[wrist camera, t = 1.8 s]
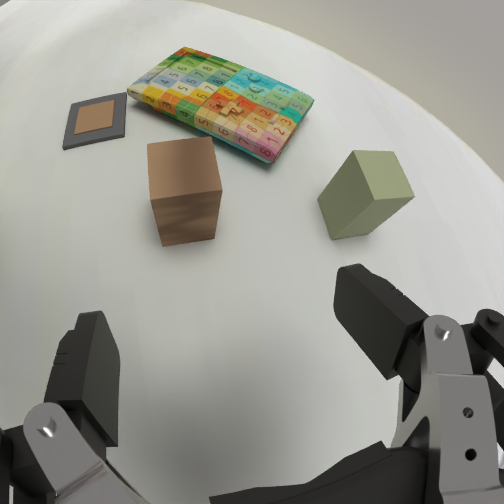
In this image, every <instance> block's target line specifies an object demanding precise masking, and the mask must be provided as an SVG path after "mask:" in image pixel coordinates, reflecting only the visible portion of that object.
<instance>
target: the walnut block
mask: <svg viewBox="0 0 504 504" xmlns="http://www.w3.org/2000/svg"><path fill="white" fill-rule="evenodd" d="M147 154H148V174H149V189H150V201H151V205H152V208H153V212H154V216H155V220H156V224H157V227H158V231H159V235H160V238H161V242H162V245H163V247H164V246H170V245H177V244H183V243H190V242H196V241H203V240H209V239H214V238H215V231H216V225H217V219H218V213H219V207H220V201H221V195H222V185H221V180H220V176H219V171H218V166H217V161H216V156H215V151H214V147H213V142H212V137H211V136H209V137H199V138H190V139H181V140H173V141H165V142H158V143H151V144H147Z"/></svg>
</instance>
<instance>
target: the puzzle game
mask: <svg viewBox="0 0 504 504" xmlns="http://www.w3.org/2000/svg"><path fill="white" fill-rule="evenodd" d="M127 93H128V95H129V96H130V97H132V98H134V99H137V100H139V101H142V102H145V103H147V104H150V105H151V106H152V108H153V109H154V110H156V111H158V112H161V113H163V114H165V115H168V116H170V117H172V118H174V119H177V120H179V121H181V122H183V123H186V124H188V125H190V126H192V127H194V128H197V129H199V130H201V131H203V132H205V133H207V134H209V135H211V136H214V137H216V138H218V139H220V140H222V141H224V142H226V143H228V144H230V145H232V146H234V147H236V148H238V149H240V150H242V151H244V152H246V153H248V154H250V155H252V156H254V157H255V158H257V159H259V160H261V161H263V162H265V163H274V162H275V160H276V159H277V157H278V156H279V154H280V153H281V151H282V150H283V148H284V147H285V145H286V144H287V142H288V141H289V139H290V138H291V136H292V135H293V133H294V132H295V130H296V129H297V127H298V126H299V124H300V123H301V121H302V120H303V118H304V117H305V115H306V114H307V112H308V111H309V110H310V108H311V107H312V104H313V102H314V99H313V98H311V97H310V96H309V95H307V94H305V93H303V92H301V91H299V90H297V89H295V88H292V87H290V86H288V85H286V84H284V83H282V82H279V81H277V80H275V79H273V78H270V77H268V76H266V75H263V74H261V73H258V72H256V71H254V70H251V69H248V68H246V67H243V66H241V65H238V64H235V63H233V62H230V61H227V60H224V59H222V58H219V57H216V56H213V55H210V54H207V53H204V52H201V51H197V50H194V49H191V48H187V47H183V48H182V49H180V50H179V51H177V52H176V53H174V54H173V55H171V56H170V57H168V58H167V59H165V60H164V61H162V62H161V63H160V64H158V65H157V66H155V67H154V68H153V69H151V70H150V71H149V72H147V73H146V74H145V75H143V76H142V77H141V78H140V79H138V80H137V81H136V82H134V83H133V84H132V85H131V86H129V87H128V88H127Z"/></svg>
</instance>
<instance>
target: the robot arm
mask: <svg viewBox="0 0 504 504" xmlns="http://www.w3.org/2000/svg"><path fill="white" fill-rule="evenodd" d="M333 306H334V312H335V315H336V318H337V319H338V321H339V322H340V323H341V324H342V326H343V327H344V328H345V329H346V331H347V332H348V333H349V334H350V335H351V337H352V338H353V339H354V340H355V342H356V343H357V344H358V345H359V346H360V348H361V349H362V350H363V351H364V353H365V354H366V355H367V356H368V358H369V359H370V360H371V361H372V363H373V364H374V365H375V366H376V368H377V369H378V370H379V371H380V373H381V374H382V375H383V376H384V378H385V379H386V380H389V379H391V378H393V377H395V376H397V375H400V377H401V378H402V379H401V381H400V384H399V401H398V416H397V427H396V432H395V435H394V438H393V440H392V443H391V447H390V448H386V447H385V445H384V444H383V442H382V441H379V442H377V443H375V444H373V445H371V446H369V447H367V448H365V449H363V450H360V451H358V452H356V453H354V454H352V455H349V456H347V457H345V458H343V459H342V460H341V461H339V462H338V463H336V464H335V465H334V466H332V467H331V468H329V469H328V470H327V471H325V472H324V473H322V474H321V475H319V476H318V477H316V478H315V479H313V480H311V481H310V482H308V483H305V484H299V485H289V486H276V487H256V488H251V489H247V490H243V491H238V492H233V493H228V494H223V495H218V496H212V497H209V500H210V503H211V504H504V469H500V468H499V466H498V450H497V442H498V444H499V445H500V446H501V448H502V449H503V451H504V389H503V388H502V386H501V385H500V384H499V383H498V382H497V381H496V380H495V379H494V377H493V376H492V375H491V374H490V373H489V372H488V371H487V369H488V367H489V365H490V364H491V362H492V360H493V358H495V359H496V360H497V361H498V362H499V363H500V364H501V365H502V366H503V367H504V316H503V315H502V314H500V313H499V312H497V311H494V310H491V309H482V310H480V311H479V312H478V313H477V315H476V318H475V320H474V322H473V323H471V324H464V325H459V323H458V322H456V321H455V320H454V319H452V318H450V317H447V316H443V315H433V316H428V315H427V314H426V313H425V312H424V311H423V310H422V309H420V308H419V307H418V306H417V305H416V304H415V303H414V302H412V301H411V300H410V299H409V298H408V297H407V296H405V295H404V296H403V293H402V292H401V291H399V290H398V289H396V288H395V286H393V285H392V284H391V283H390V282H389V281H387V280H386V279H384V278H382V277H380V276H377V275H375V274H372V273H371V272H370V271H369V270H368V269H366V268H365V267H364V266H363V265H361V264H354V265H349V266H345V267H341V268H339V269H338V272H337V279H336V287H335V296H334V304H333ZM56 355H57V356H55V359H54V363H53V364H54V366H52V370H51V373H50V377H49V381H48V385H47V389H46V393H45V398H44V402H43V403H42V404H39V405H37V406H35V407H34V408H32V409H31V410H30V411H29V413H28V414H27V416H26V418H25V420H24V424H23V425H21V426H17V427H14V428H10V429H7V430H2V429H1V428H0V504H9V485H11V486H12V487H14V488H13V489H14V490H13V504H150V503H149V502H148V501H147V500H146V499H145V498H144V497H143V496H142V495H141V494H140V493H138V492H137V491H136V490H135V489H134V487H133V486H132V485H131V484H130V483H129V482H128V481H127V480H126V479H125V478H124V477H123V476H122V475H121V474H120V473H119V472H118V471H117V469H116V468H115V467H114V466H113V465H112V464H111V463H110V461H109V460H108V459H107V458H106V447H118V397H119V376H120V356H119V351H118V348H117V345H116V343H115V340H114V338H113V335H112V333H111V330H110V328H109V325H108V323H107V320H106V318H105V315H104V313H103V312H102V311H94V312H87V313H80V314H79V316H78V319H77V322H76V325H75V329H74V330H69V331H68V332H67V333H66V334H65V336H64V337H63V338H62V340H61V341H60V343H59V346H58V349H57V352H56ZM56 493H57V496H56Z"/></svg>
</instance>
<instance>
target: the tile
mask: <svg viewBox="0 0 504 504" xmlns="http://www.w3.org/2000/svg"><path fill="white" fill-rule="evenodd" d="M126 99H127V93H126V92H124V93H119V94H113V95H108V96H103V97H99V98H94V99H90V100H86V101H81V102H77V103H74V104H71V108H70V112H69V116H68V121H67V125H66V130H65V135H64V140H63V146H62V147H63V149H64V150H66V149H70V148H74V147H78V146H82V145H87V144H91V143H96V142H101V141H106V140H111V139H116V138H122V137H124V135H125V114H126Z"/></svg>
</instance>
